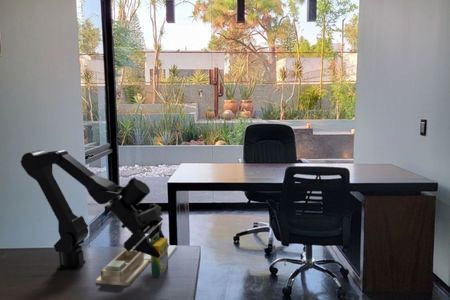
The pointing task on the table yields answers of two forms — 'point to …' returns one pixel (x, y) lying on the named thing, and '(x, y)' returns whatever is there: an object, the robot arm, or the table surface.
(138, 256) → the organizer
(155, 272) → the crayon box
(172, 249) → the external hard drive
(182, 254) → the table surface
